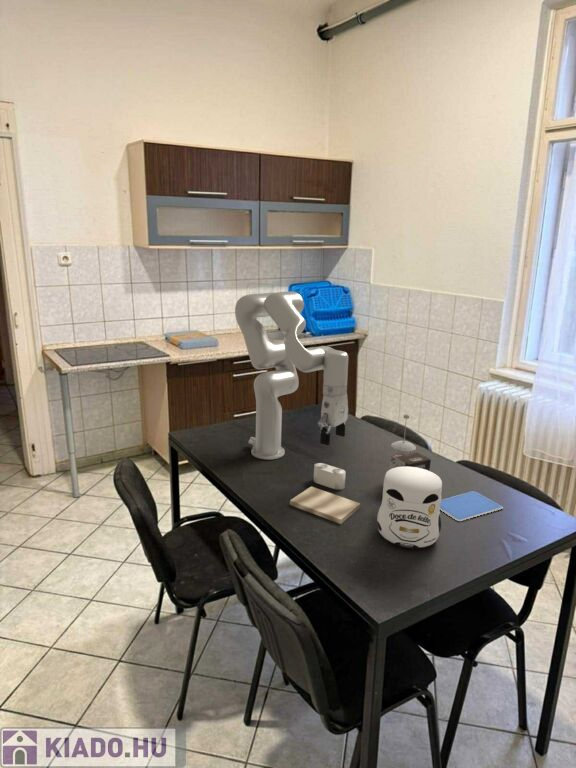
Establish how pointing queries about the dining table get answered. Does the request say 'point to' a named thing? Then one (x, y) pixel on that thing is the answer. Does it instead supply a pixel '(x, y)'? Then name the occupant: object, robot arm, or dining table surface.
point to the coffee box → (413, 461)
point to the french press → (401, 447)
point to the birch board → (325, 504)
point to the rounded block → (329, 476)
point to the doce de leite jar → (410, 507)
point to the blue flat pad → (468, 506)
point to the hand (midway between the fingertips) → (332, 439)
